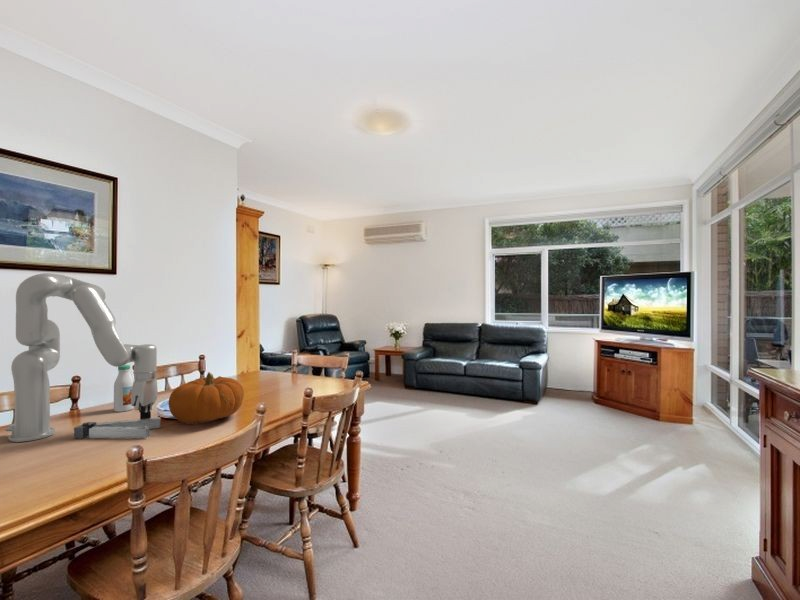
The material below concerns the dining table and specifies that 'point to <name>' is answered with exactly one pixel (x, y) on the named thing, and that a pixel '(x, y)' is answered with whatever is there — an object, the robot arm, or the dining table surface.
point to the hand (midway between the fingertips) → (145, 421)
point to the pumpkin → (206, 399)
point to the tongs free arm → (133, 423)
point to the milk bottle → (123, 389)
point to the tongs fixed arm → (110, 431)
